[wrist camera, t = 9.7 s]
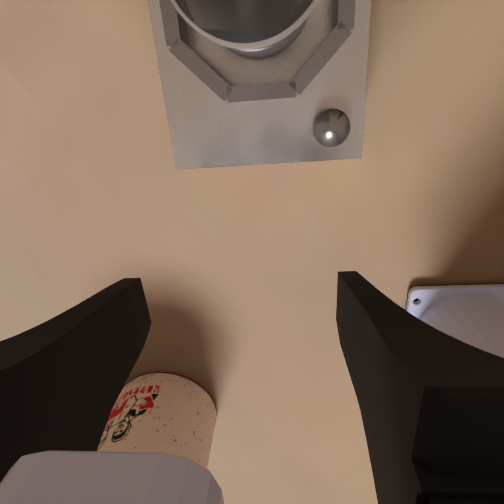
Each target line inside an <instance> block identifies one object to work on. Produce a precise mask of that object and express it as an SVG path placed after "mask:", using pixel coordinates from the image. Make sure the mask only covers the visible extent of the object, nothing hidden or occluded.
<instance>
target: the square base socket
mask: <svg viewBox="0 0 504 504" xmlns="http://www.w3.org/2000/svg"><path fill="white" fill-rule="evenodd" d="M148 5H149V11H150V17H151V23H152V29H153V35H154V41H155V47H156V53H157V59H158V65H159V71H160V77H161V83H162V89H163V95H164V101H165V106H166V112H167V118H168V124H169V130H170V136H171V142H172V148H173V154H174V160H175V166H176V170H179V169H195V168H211V167H227V166H244V165H260V164H276V163H293V162H309V161H325V160H341V159H358V158H362V146H363V130H364V113H365V97H366V80H367V64H368V47H369V31H370V14H371V0H319V1H318V3H317V4H316V6H315V8H314V9H313V11H312V12H311V13H310V15H309V17H308V19H307V21H306V24H305V26H304V28H303V30H302V31H301V33H300V34H299V36H298V37H297V38H296V40H295V41H294V42H293V43H292V44H291V45H290V46H289V47H288V48H286V49H285V50H284V51H282V52H280V53H279V54H277V55H274V56H272V57H268V58H263V59H250V58H245V57H242V56H239V55H237V54H235V53H233V52H232V51H230V50H229V49H227V48H226V47H225V46H222V45H219V44H217V43H215V42H213V41H211V40H209V39H208V38H206V37H205V36H203V35H202V34H200V33H199V32H198V31H196V30H195V29H194V28H193V27H191V26H190V25H189V24H188V23H187V22H186V21H185V20H184V19H183V17H182V16H181V15H180V14H179V13H178V11H177V10H176V8H175V7H174V6H173V4H172V3H171V1H170V0H148Z"/></svg>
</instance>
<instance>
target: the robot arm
mask: <svg viewBox="0 0 504 504" xmlns="http://www.w3.org/2000/svg"><path fill="white" fill-rule="evenodd" d="M417 298H418V301H416V302H413V301H414V300H415V299H417ZM336 321H337V327H338V333H339V339H340V344H341V348H342V351H343V354H344V357H345V361H346V364H347V367H348V370H349V373H350V377H351V380H352V383H353V386H354V389H355V392H356V396H357V399H358V403H359V406H360V410H361V415H362V420H363V425H364V430H365V435H366V440H367V445H368V450H369V455H370V461H371V466H372V471H373V477H374V483H375V488H376V494H377V500H378V504H504V284H488V285H451V286H417V287H413V288H411V289H410V290H409V293H408V300H407V307H406V310H404V309H403V308H402V307H400V306H399V305H397V304H396V303H394V302H393V301H392V300H390V299H389V298H388V297H386V296H385V295H384V294H383V293H381V292H380V291H379V290H378V289H376V288H375V287H374V286H373V285H372V284H371V283H369V282H368V281H367V280H366V279H365V278H364V277H362V276H361V275H360V274H359V273H358V272H356V271H345V272H338V286H337V313H336ZM150 326H151V319H150V315H149V311H148V307H147V303H146V299H145V295H144V291H143V287H142V283H141V279H140V278H124V279H122V280H120V281H118V282H116V283H114V284H112V285H110V286H109V287H107V288H105V289H103V290H102V291H100V292H98V293H97V294H95V295H93V296H91V297H90V298H88V299H86V300H85V301H83V302H81V303H80V304H78V305H76V306H74V307H72V308H71V309H69V310H67V311H65V312H63V313H61V314H60V315H58V316H56V317H54V318H52V319H50V320H48V321H46V322H44V323H42V324H40V325H38V326H36V327H34V328H32V329H29V330H27V331H25V332H23V333H21V334H18V335H16V336H13V337H11V338H8V339H6V340H3V341H0V504H224V501H223V495H222V490H221V488H220V487H219V485H218V483H217V482H216V480H215V479H214V477H213V475H212V474H211V472H210V471H209V470H208V469H207V468H205V467H203V466H202V465H200V464H198V463H196V462H195V461H193V460H191V459H190V458H188V457H183V456H178V455H173V454H167V453H158V452H103V451H97V449H98V446H99V443H100V440H101V437H102V435H103V432H104V429H105V427H106V424H107V422H108V419H109V416H110V414H111V411H112V409H113V407H114V404H115V402H116V400H117V398H118V396H119V394H120V392H121V390H122V388H123V386H124V384H125V382H126V380H127V378H128V376H129V375H130V373H131V371H132V369H133V367H134V365H135V363H136V361H137V359H138V357H139V355H140V353H141V351H142V349H143V347H144V344H145V341H146V338H147V335H148V332H149V329H150Z"/></svg>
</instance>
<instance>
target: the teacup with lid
mask: <svg viewBox="0 0 504 504" xmlns="http://www.w3.org/2000/svg"><path fill="white" fill-rule="evenodd" d="M215 423H216V409H215V406H214V403H213V401H212V399H211V398H210V396H209V395H208V394H207V393H206V391H205V390H204V389H202V388H201V387H200V386H199V385H197V384H196V383H194V382H192V381H191V380H189V379H186V378H184V377H181V376H178V375H174V374H168V373H152V374H147V375H143V376H140V377H137V378H135V379H134V380H132V381H131V382H129V383H128V384H127V385H126V386H125V387H124V388H123V390H122V391H121V393H120V395H119V397H118V399H117V401H116V403H115V405H114V407H113V409H112V411H111V414H110V416H109V419H108V422H107V424H106V427H105V429H104V432H103V435H102V437H101V440H100V443H99V446H98V449H97V451H103V452H158V453H167V454H173V455H178V456H183V457H188V458H190V459H191V460H193V461H195V462H196V463H198V464H200V465H202V466H203V467H205V468H207V465H208V460H209V454H210V449H211V444H212V438H213V433H214V428H215Z"/></svg>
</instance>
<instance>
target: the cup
mask: <svg viewBox="0 0 504 504" xmlns="http://www.w3.org/2000/svg"><path fill="white" fill-rule="evenodd" d="M170 1H171V3H172V4H173V6H174V7H175V8H176V10H177V11H178V13H179V14H180V15H181V16H182V17H183V19H184V20H185V21H186V22H187V23H188V24H189V25H190V26H191V27H193V28H194V29H195V30H196V31H198V32H199V33H200V34H202V35H203V36H205V37H206V38H208V39H209V40H211V41H213V42H215V43H217V44H219V45H222V46H225V47H226V48H227V49H229V50H230V51H232V52H233V53H235V54H237V55H239V56H242V57H245V58H250V59H263V58H268V57H272V56H274V55H277V54H279V53H280V52H282V51H284V50H285V49H286V48H288V47H289V46H290V45H291V44H292V43H293V42H294V41H295V40H296V38H297V37H298V36H299V34H300V33H301V31H302V30H303V28H304V26H305V24H306V21H307V19H308V17H309V15H310V13H311V12H312V11H313V9H314V8H315V6H316V4H317V3H318V1H319V0H170Z"/></svg>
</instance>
